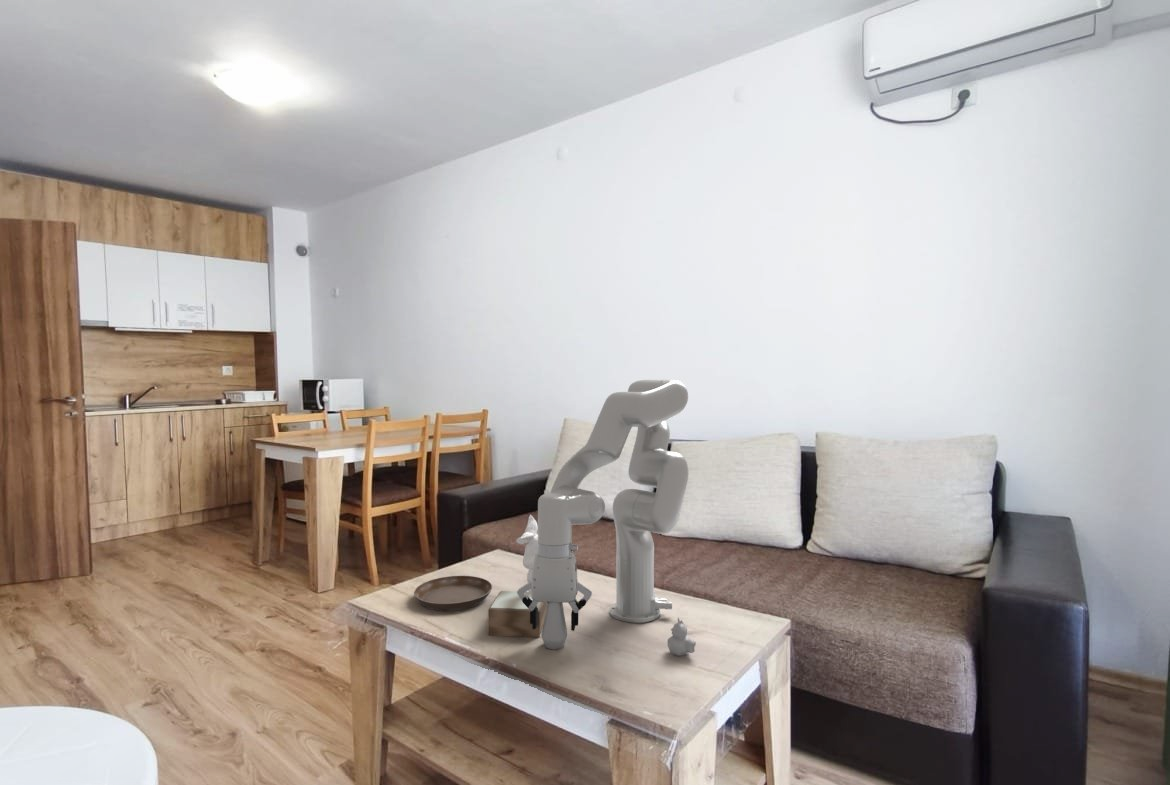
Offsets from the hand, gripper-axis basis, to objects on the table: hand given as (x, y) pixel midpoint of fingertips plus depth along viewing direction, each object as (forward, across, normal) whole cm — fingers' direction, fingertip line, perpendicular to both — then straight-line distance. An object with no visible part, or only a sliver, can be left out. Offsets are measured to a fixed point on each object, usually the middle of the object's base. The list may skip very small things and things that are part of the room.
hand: (554, 627), depth 132 cm
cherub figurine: (+4, +9, -28) cm, 30 cm away
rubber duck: (+4, -28, +2) cm, 28 cm away
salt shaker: (+4, 0, 0) cm, 4 cm away
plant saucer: (+5, +31, -26) cm, 41 cm away
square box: (+4, +10, -10) cm, 15 cm away
